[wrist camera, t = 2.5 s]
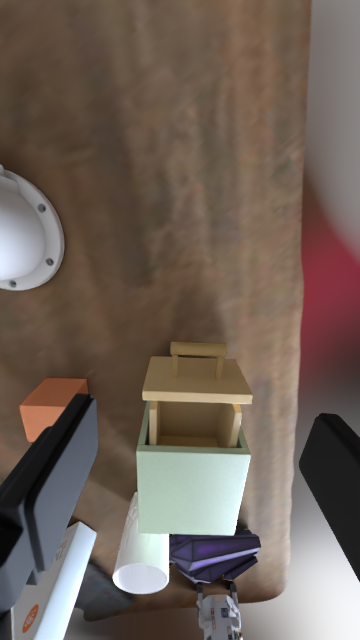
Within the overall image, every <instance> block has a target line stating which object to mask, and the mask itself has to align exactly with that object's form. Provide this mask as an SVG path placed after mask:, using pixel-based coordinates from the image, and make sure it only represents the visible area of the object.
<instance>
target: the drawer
mask: <svg viewBox="0 0 360 640" xmlns="http://www.w3.org/2000/svg"><path fill="white" fill-rule="evenodd" d="M170 354H172V357H159V356H151V359H150V363H149V367H148V371H147V375H146V379H145V383H144V386H143V390H142V399H143V400H151V404H150V409H149V440H150V445H153V446H185V447H217V448H236V445H237V439H238V433H239V428H240V422H241V416H242V411H241V408H240V406H239V404H251V402H252V397H253V394H252V392H251V390H250V388H249V386H248V384H247V382H246V380H245V378H244V376H243V374H242V372H241V370H240V368H239V366H238V364H237V362H236V360H235V359H223V356H224V357H225V356H226V355H227V345H226V344H222V343H197V342H171V352H170ZM178 355H198V356H217V359H211V358H185V357H178Z"/></svg>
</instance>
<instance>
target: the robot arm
mask: <svg viewBox="0 0 360 640" xmlns="http://www.w3.org/2000/svg"><path fill="white" fill-rule="evenodd" d="M45 207H46V211H45ZM64 248H65V246H64V234H63V229H62V225H61V222H60V220H59V217H58V215H57V213H56V211H55V209H54V208H53V206H52V204H51V203H50V201H49V200H48V199H47V198H46V197H45V195H44V194H43V193H42V192H41V191H40V190H39V189H38V188H37V187H36V186H34V185H33V184H32V183H31V182H29V181H27V180H26V179H24V178H23V177H21V176H19V175H17V174H15V173H12V172H10V171H7V170H4V169H3V165H1V164H0V288H2V289H7V290H26V289H31V288H34V287H37V286H40V285H42V284H44V283H45V282H47V281H49V280H50V279H51V278H52V277H53V276H54V275H55V273H56V272H57V270H58V269H59V267H60V265H61V262H62V259H63V255H64ZM52 260H53V261H54V263H53V262H52ZM97 451H98V430H97V406H96V398H92V394H84V393H76V394H75V395H74V397H73V398H72V400H71V401H70V402H69V404H68V405H67V406H66V408H65V409H64V411H63V412H62V413H61V415H60V416H59V417H58V419H57V420H56V422H55V423H54V424H53V426H48V427H46V428H45V429H44V430H43V431H42V432H41V434H40V435H39V436H38V438H37V439H36V440H35V442H34V443H33V444H32V445H31V447H30V448H29V449H28V451H27V452H26V453H25V455H24V456H23V457H22V459H21V460H20V461H19V463H18V464H17V465H16V467H15V468H14V469H13V470H12V472H11V473H10V474H9V476H8V477H7V478H6V480H5V481H4V482H3V484H2V485H1V486H0V640H15V629H14V613H13V606H14V605H15V604H16V603H17V601H18V599H19V597H20V595H21V593H22V591H23V588H24V586H25V585H37V584H38V581H39V579H40V577H41V574H42V572H43V571H48V569H49V568H50V566H51V564H52V562H53V560H54V557H55V555H56V552H57V550H58V547H59V545H60V543H61V540H62V538H63V535H64V533H65V530H66V528H67V526H68V523H69V521H70V518H71V516H72V513H73V511H74V509H75V506H76V504H77V501H78V499H79V496H80V494H81V492H82V489H83V487H84V484H85V482H86V479H87V477H88V474H89V472H90V470H91V467H92V465H93V462H94V460H95V457H96V455H97ZM299 468H300V471H301V473H302V475H303V477H304V478H305V481H306V482H307V484H308V486H309V488H310V490H311V492H312V493H313V496H314V497H315V499H316V501H317V503H318V505H319V507H320V509H321V510H322V512H323V514H324V516H325V518H326V520H327V522H328V524H329V526H330V527H331V529H332V531H333V533H334V535H335V537H336V539H337V541H338V542H339V544H340V546H341V548H342V550H343V552H344V554H345V556H346V557H347V559H348V561H349V563H350V565H351V567H352V569H353V571H354V572H355V574H356V576H357V578H358V580H359V581H360V437H358V435H357V434H356V433H355V432H354V431H353V430H352V429H351V428H350V427H349V426H348V425H347V424H346V423H345V422H344V420H342V418H341V417H340V416H338V415H336V414H327V413H321V414H320V415H319V416H318V417H316V418H315V421H314V424H313V426H312V429H311V432H310V434H309V437H308V440H307V442H306V445H305V448H304V450H303V453H302V455H301V458H300V461H299Z"/></svg>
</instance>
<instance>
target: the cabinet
mask: <svg viewBox="0 0 360 640" xmlns="http://www.w3.org/2000/svg"><path fill="white" fill-rule="evenodd" d="M150 404H151V400H147V403H146V408H145V412H144V417H143V422H142V426H141V431H140V436H139V441H138V446H137V450H136V458H137V491H138V524H139V533H153V534H194V535H234V532H235V527H236V522H237V518H238V513H239V508H240V503H241V499H242V494H243V489H244V484H245V479H246V475H247V470H248V465H249V460H250V456H251V454H250V451H249V449H248V445H247V442H246V440H245V437H244V434H243V431H242V428H241V425H240V428H239V433H238V439H237V445H236V448H217V447H185V446H153V445H150V440H149V409H150Z"/></svg>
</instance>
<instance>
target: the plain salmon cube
mask: <svg viewBox="0 0 360 640" xmlns="http://www.w3.org/2000/svg"><path fill="white" fill-rule="evenodd" d="M76 393H84V394H88V387H87V379H73V378H46V379H45V380H44V381H43V382H42V383H41V384H40V385H39V386H38V387H37V388H36V389H35V390H34V391H33V392H32V393H31V394H30V395H29V396H28V397H27V398H26V399H25V400H24V401H23V402H22V403H21V404H20V405H19V408H20V412H21V416H22V420H23V424H24V428H25V432H26V436H27V440H28V441H33V442H35V440H36V439H37V438H38V436H39V435H40V434H41V432H42V431H43V430H44V429H45V428H46V427H48V426H53V424H54V423H55V422H56V420H57V419H58V417H59V416H60V415H61V413H62V412H63V411H64V409H65V408H66V406H67V405H68V404H69V402H70V401H71V400H72V398H73V397H74V395H75V394H76Z"/></svg>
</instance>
